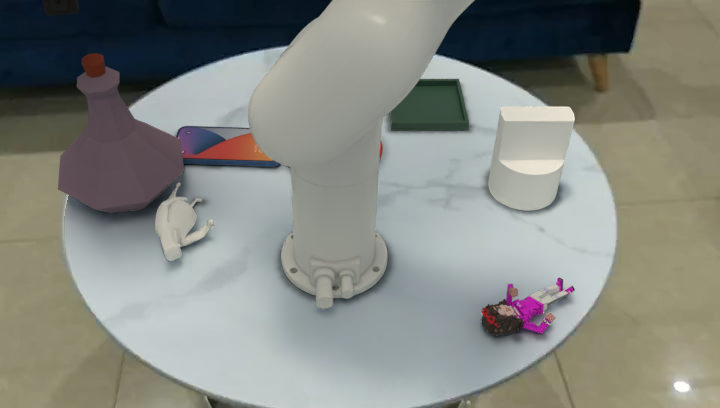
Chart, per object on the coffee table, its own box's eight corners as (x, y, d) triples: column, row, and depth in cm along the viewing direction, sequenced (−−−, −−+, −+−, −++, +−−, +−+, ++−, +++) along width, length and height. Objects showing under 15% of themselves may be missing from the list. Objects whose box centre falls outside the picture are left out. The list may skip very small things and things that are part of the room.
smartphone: (180, 131, 116) (179, 125, 115) (286, 134, 115) (286, 128, 115) (169, 164, 110) (168, 158, 110) (280, 168, 110) (280, 162, 109)
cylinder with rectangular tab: (493, 210, 105) (506, 136, 97) (483, 165, 112) (495, 92, 103) (563, 210, 105) (582, 136, 97) (549, 165, 112) (566, 92, 104)
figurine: (228, 191, 104) (214, 259, 95) (189, 210, 106) (172, 279, 97) (197, 159, 100) (180, 227, 91) (158, 180, 103) (137, 248, 94)
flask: (40, 225, 102) (-12, 95, 87) (94, 139, 113) (56, 13, 99) (166, 243, 99) (134, 113, 85) (209, 154, 111) (187, 27, 97)
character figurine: (545, 283, 97) (468, 321, 91) (558, 253, 93) (477, 291, 88) (579, 316, 94) (501, 358, 88) (593, 287, 90) (513, 328, 84)
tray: (468, 130, 117) (469, 122, 116) (391, 130, 117) (391, 122, 116) (458, 86, 125) (459, 78, 124) (386, 86, 125) (386, 78, 124)
